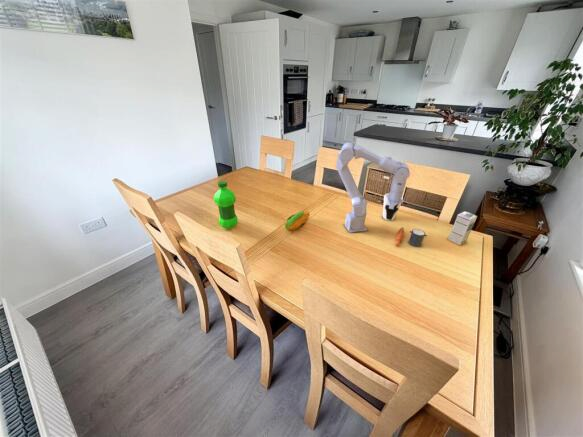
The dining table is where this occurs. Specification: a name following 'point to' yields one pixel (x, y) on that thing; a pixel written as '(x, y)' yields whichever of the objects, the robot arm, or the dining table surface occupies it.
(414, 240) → the mug
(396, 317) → the dining table surface
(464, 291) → the dining table surface
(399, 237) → the carrot
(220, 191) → the plastic bottle
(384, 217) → the foam cup
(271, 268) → the dining table surface
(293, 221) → the hot dog
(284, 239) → the dining table surface
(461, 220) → the syrup box
